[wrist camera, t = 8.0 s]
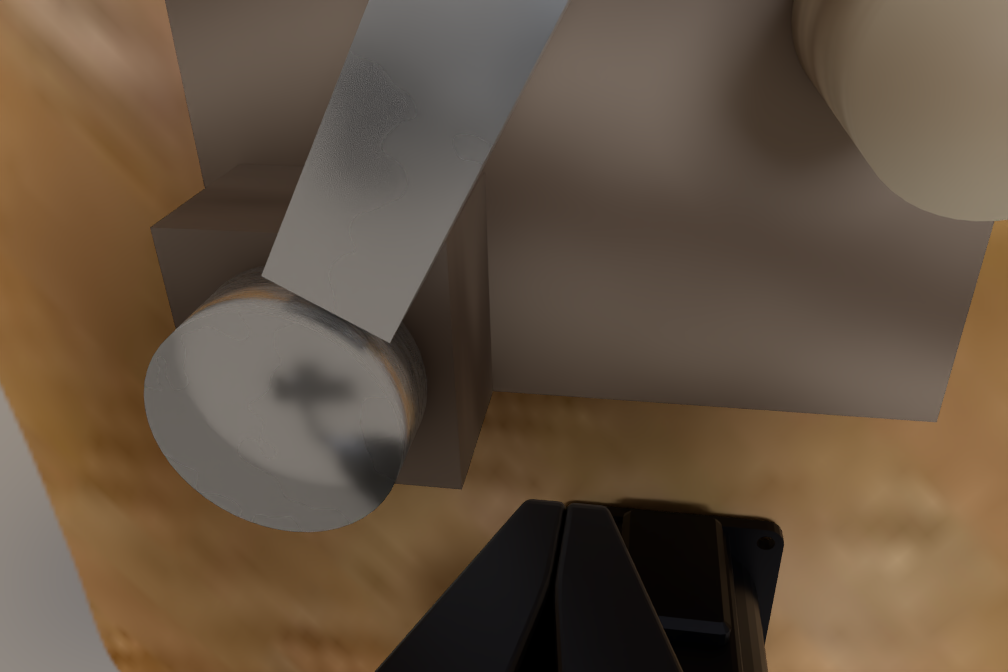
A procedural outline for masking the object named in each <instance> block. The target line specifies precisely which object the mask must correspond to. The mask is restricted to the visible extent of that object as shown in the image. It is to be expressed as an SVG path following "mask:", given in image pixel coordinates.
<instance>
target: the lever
mask: <svg viewBox="0 0 1008 672" xmlns="http://www.w3.org/2000/svg"><path fill="white" fill-rule="evenodd" d="M570 1H571V0H369V1H368V4H367V6H366V9H365V12H364V14H363V17H362V19H361V22H360V24H359V27H358V30H357V32H356V35H355V37H354V40H353V42H352V45H351V47H350V50H349V53H348V55H347V58H346V60H345V63H344V65H343V68H342V71H341V73H340V76H339V78H338V81H337V83H336V86H335V88H334V91H333V94H332V96H331V99H330V101H329V104H328V106H327V109H326V112H325V114H324V117H323V119H322V122H321V124H320V127H319V129H318V132H317V135H316V137H315V140H314V142H313V145H312V147H311V150H310V153H309V155H308V158H307V160H306V163H305V165H304V168H303V170H302V173H301V176H300V178H299V181H298V183H297V186H296V188H295V191H294V194H293V196H292V199H291V201H290V204H289V206H288V209H287V211H286V214H285V217H284V219H283V222H282V224H281V227H280V229H279V232H278V234H277V237H276V240H275V242H274V245H273V247H272V250H271V252H270V255H269V258H268V260H267V263H266V265H265V266H261V267H257V268H253V269H250V270H247V271H244V272H242V273H240V274H238V275H236V276H235V277H233V278H231V279H230V280H228V281H227V282H226V283H224V284H223V285H221V286H220V287H219V288H218V289H217V290H216V291H215V292H214V293H213V294H212V295H211V296H210V297H209V298H208V299H207V300H206V301H205V302H204V303H203V304H202V305H201V306H200V307H199V308H198V309H197V310H195V311H194V312H193V313H192V314H191V315H190V316H189V317H188V318H187V319H186V320H185V321H184V322H183V323H182V324H181V325H180V326H179V327H178V328H177V329H176V330H175V331H174V332H173V333H172V334H171V335H170V336H169V337H168V338H167V339H166V340H165V341H164V342H163V343H162V344H161V345H160V346H159V348H158V349H157V351H156V352H155V354H154V355H153V357H152V360H151V362H150V364H149V367H148V369H147V374H146V378H145V384H144V402H145V410H146V415H147V419H148V423H149V426H150V428H151V431H152V433H153V436H154V438H155V440H156V442H157V444H158V446H159V447H160V449H161V451H162V453H163V454H164V455H165V457H166V458H167V460H168V461H169V463H170V464H171V465H172V466H173V468H174V469H175V470H176V471H177V472H178V473H179V475H180V476H181V477H182V478H183V479H184V480H185V481H186V482H187V483H188V484H189V485H190V486H191V487H193V488H194V489H195V490H196V491H198V492H199V493H200V494H201V495H203V496H204V497H205V498H207V499H208V500H210V501H211V502H213V503H214V504H216V505H217V506H219V507H220V508H222V509H224V510H226V511H228V512H230V513H231V514H233V515H236V516H238V517H240V518H242V519H245V520H247V521H250V522H253V523H256V524H259V525H262V526H265V527H270V528H274V529H278V530H285V531H293V532H317V531H327V530H332V529H337V528H340V527H343V526H346V525H349V524H352V523H354V522H356V521H358V520H360V519H362V518H364V517H365V516H367V515H368V514H369V513H371V512H372V511H374V510H375V509H376V508H377V507H378V506H379V505H380V504H381V503H382V502H383V501H384V499H385V498H386V497H387V495H388V494H389V493H390V491H391V489H392V487H393V485H394V483H395V481H396V479H397V477H398V474H399V472H400V470H401V467H402V465H403V462H404V460H405V458H406V455H407V453H408V451H409V448H410V446H411V444H412V441H413V439H414V437H415V434H416V432H417V430H418V427H419V425H420V423H421V420H422V418H423V415H424V411H425V408H426V402H427V394H428V390H427V376H426V371H425V365H424V362H423V359H422V356H421V353H420V351H419V349H418V347H417V345H416V343H415V341H414V339H413V337H412V335H411V334H410V332H409V331H408V329H407V328H406V326H405V325H404V323H403V322H402V321H403V319H404V317H405V315H406V313H407V312H408V310H409V308H410V306H411V305H412V303H413V301H414V299H415V297H416V296H417V294H418V292H419V290H420V288H421V286H422V284H423V283H424V281H425V279H426V277H427V275H428V273H429V271H430V269H431V267H432V265H433V263H434V261H435V260H436V258H437V256H438V254H439V252H440V250H441V248H442V246H443V244H444V242H445V240H446V238H447V237H448V235H449V233H450V231H451V229H452V227H453V225H454V223H455V221H456V219H457V217H458V216H459V214H460V212H461V210H462V208H463V206H464V204H465V202H466V200H467V198H468V196H469V194H470V193H471V191H472V189H473V187H474V185H475V183H476V181H477V179H478V177H479V175H480V173H481V171H482V170H483V168H484V166H485V164H486V162H487V160H488V158H489V156H490V154H491V152H492V150H493V148H494V147H495V145H496V143H497V141H498V139H499V137H500V135H501V133H502V131H503V129H504V127H505V126H506V124H507V122H508V120H509V118H510V116H511V114H512V112H513V110H514V108H515V106H516V104H517V103H518V101H519V99H520V97H521V95H522V93H523V91H524V89H525V87H526V85H527V83H528V81H529V80H530V78H531V76H532V74H533V72H534V70H535V68H536V66H537V64H538V62H539V60H540V58H541V57H542V55H543V53H544V51H545V49H546V47H547V45H548V43H549V41H550V39H551V37H552V35H553V34H554V32H555V30H556V28H557V26H558V24H559V22H560V20H561V18H562V16H563V14H564V13H565V11H566V9H567V7H568V5H569V3H570Z"/></svg>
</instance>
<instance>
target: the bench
mask: <svg viewBox="0 0 1008 672" xmlns="http://www.w3.org/2000/svg"><path fill="white" fill-rule="evenodd" d="M368 1H369V0H165V3H166V7H167V12H168V17H169V21H170V26H171V31H172V35H173V40H174V45H175V50H176V54H177V59H178V64H179V68H180V73H181V78H182V83H183V87H184V92H185V97H186V101H187V106H188V111H189V115H190V120H191V125H192V130H193V134H194V139H195V144H196V148H197V153H198V158H199V163H200V167H201V172H202V177H203V181H204V186H205V189H203V190H202V191H201V192H199V193H198V194H196V195H195V196H194V197H192V198H191V199H189V200H188V201H187V202H185V203H184V204H182V205H181V206H180V207H178V208H177V209H175V210H174V211H173V212H171V213H170V214H168V215H167V216H166V217H164V218H163V219H162V220H160V221H159V222H157V223H156V224H155V225H153V226H152V227H150V229H151V232H152V236H153V240H154V244H155V248H156V252H157V256H158V260H159V264H160V268H161V272H162V276H163V280H164V284H165V288H166V292H167V296H168V300H169V304H170V308H171V312H172V316H173V319H174V323H175V327H176V329H177V328H178V327H179V326H180V325H181V324H182V323H183V322H184V321H185V320H186V319H187V318H188V317H189V316H190V315H191V314H192V313H193V312H194V311H195V310H197V309H198V308H199V307H200V306H201V305H202V304H203V303H204V302H205V301H206V300H207V299H208V298H209V297H210V296H211V295H212V294H213V293H214V292H215V291H216V290H217V289H218V288H219V287H220V286H221V285H223V284H224V283H226V282H227V281H228V280H230V279H231V278H233V277H235V276H236V275H238V274H240V273H242V272H244V271H247V270H250V269H253V268H257V267H261V266H265V265H266V263H267V260H268V258H269V255H270V252H271V250H272V247H273V245H274V242H275V240H276V237H277V234H278V232H279V229H280V227H281V224H282V222H283V219H284V217H285V214H286V211H287V209H288V206H289V204H290V201H291V199H292V196H293V194H294V191H295V188H296V186H297V183H298V181H299V178H300V176H301V173H302V170H303V168H304V165H305V163H306V160H307V158H308V155H309V153H310V150H311V147H312V145H313V142H314V140H315V137H316V135H317V132H318V129H319V127H320V124H321V122H322V119H323V117H324V114H325V112H326V109H327V106H328V104H329V101H330V99H331V96H332V94H333V91H334V88H335V86H336V83H337V81H338V78H339V76H340V73H341V71H342V68H343V65H344V63H345V60H346V58H347V55H348V53H349V50H350V47H351V45H352V42H353V40H354V37H355V35H356V32H357V30H358V27H359V24H360V22H361V19H362V17H363V14H364V12H365V9H366V6H367V4H368ZM793 2H794V0H571V1H570V3H569V5H568V7H567V9H566V11H565V13H564V14H563V16H562V18H561V20H560V22H559V24H558V26H557V28H556V30H555V32H554V34H553V35H552V37H551V39H550V41H549V43H548V45H547V47H546V49H545V51H544V53H543V55H542V57H541V58H540V60H539V62H538V64H537V66H536V68H535V70H534V72H533V74H532V76H531V78H530V80H529V81H528V83H527V85H526V87H525V89H524V91H523V93H522V95H521V97H520V99H519V101H518V103H517V104H516V106H515V108H514V110H513V112H512V114H511V116H510V118H509V120H508V122H507V124H506V126H505V127H504V129H503V131H502V133H501V135H500V137H499V139H498V141H497V143H496V145H495V147H494V148H493V150H492V152H491V154H490V156H489V158H488V160H487V162H486V164H485V166H484V168H483V170H482V171H481V173H480V175H479V177H478V179H477V181H476V183H475V185H474V187H473V189H472V191H471V193H470V194H469V196H468V198H467V200H466V202H465V204H464V206H463V208H462V210H461V212H460V214H459V216H458V217H457V219H456V221H455V223H454V225H453V227H452V229H451V231H450V233H449V235H448V237H447V238H446V240H445V242H444V244H443V246H442V248H441V250H440V252H439V254H438V256H437V258H436V260H435V261H434V263H433V265H432V267H431V269H430V271H429V273H428V275H427V277H426V279H425V281H424V283H423V284H422V286H421V288H420V290H419V292H418V294H417V296H416V297H415V299H414V301H413V303H412V305H411V306H410V308H409V310H408V312H407V313H406V315H405V317H404V319H403V321H402V322H403V323H404V325H405V326H406V328H407V329H408V331H409V332H410V334H411V335H412V337H413V339H414V341H415V343H416V345H417V347H418V349H419V351H420V353H421V356H422V359H423V362H424V365H425V371H426V376H427V390H428V394H427V402H426V408H425V411H424V415H423V418H422V420H421V423H420V425H419V427H418V430H417V432H416V434H415V437H414V439H413V441H412V444H411V446H410V448H409V451H408V453H407V455H406V458H405V460H404V462H403V465H402V467H401V470H400V472H399V474H398V477H397V479H396V481H395V484H406V485H418V486H429V487H440V488H451V489H462V487H463V484H464V481H465V478H466V475H467V472H468V468H469V465H470V462H471V459H472V456H473V453H474V449H475V446H476V443H477V440H478V437H479V433H480V430H481V427H482V424H483V421H484V418H485V414H486V411H487V408H488V405H489V402H490V399H491V395H492V392H493V391H499V392H514V393H528V394H542V395H556V396H571V397H585V398H599V399H614V400H628V401H642V402H656V403H671V404H685V405H699V406H713V407H728V408H742V409H756V410H770V411H785V412H799V413H813V414H827V415H842V416H856V417H870V418H885V419H899V420H913V421H927V422H937V418H938V415H939V412H940V408H941V405H942V401H943V398H944V394H945V391H946V387H947V384H948V380H949V377H950V373H951V370H952V366H953V363H954V359H955V356H956V352H957V349H958V345H959V342H960V338H961V335H962V332H963V328H964V325H965V321H966V318H967V314H968V311H969V307H970V304H971V300H972V297H973V293H974V290H975V286H976V283H977V279H978V276H979V272H980V269H981V265H982V262H983V258H984V255H985V251H986V248H987V245H988V241H989V238H990V234H991V231H992V227H993V224H994V221H968V220H957V219H952V218H948V217H943V216H939V215H936V214H933V213H930V212H927V211H925V210H922V209H920V208H918V207H916V206H914V205H912V204H910V203H908V202H907V201H905V200H904V199H902V198H901V197H899V196H898V195H897V194H895V193H894V192H893V191H891V190H890V189H889V188H888V187H887V186H886V185H885V184H884V183H883V182H882V181H881V180H880V179H879V177H878V176H877V175H876V173H875V172H874V171H873V169H872V168H871V167H870V165H869V164H868V162H867V161H866V159H865V158H864V157H863V155H862V154H861V152H860V151H859V149H858V148H857V146H856V145H855V144H854V142H853V141H852V139H851V138H850V136H849V135H848V134H847V132H846V131H845V129H844V128H843V126H842V125H841V123H840V122H839V121H838V119H837V118H836V116H835V115H834V113H833V112H832V110H831V109H830V108H829V106H828V105H827V103H826V102H825V100H824V99H823V97H822V96H821V95H820V93H819V92H818V90H817V89H816V87H815V86H814V85H813V83H812V82H811V80H810V79H809V77H808V76H807V74H806V73H805V71H804V70H803V68H802V66H801V64H800V62H799V60H798V57H797V54H796V51H795V48H794V43H793V38H792V25H791V20H792V7H793Z"/></svg>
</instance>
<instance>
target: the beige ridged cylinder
mask: <svg viewBox="0 0 1008 672" xmlns="http://www.w3.org/2000/svg"><path fill="white" fill-rule="evenodd" d="M791 25H792V38H793V43H794V48H795V51H796V54H797V57H798V60H799V62H800V64H801V66H802V68H803V70H804V71H805V73H806V74H807V76H808V77H809V79H810V80H811V82H812V83H813V85H814V86H815V87H816V89H817V90H818V92H819V93H820V95H821V96H822V97H823V99H824V100H825V102H826V103H827V105H828V106H829V108H830V109H831V110H832V112H833V113H834V115H835V116H836V118H837V119H838V121H839V122H840V123H841V125H842V126H843V128H844V129H845V131H846V132H847V134H848V135H849V136H850V138H851V139H852V141H853V142H854V144H855V145H856V146H857V148H858V149H859V151H860V152H861V154H862V155H863V157H864V158H865V159H866V161H867V162H868V164H869V165H870V167H871V168H872V169H873V171H874V172H875V173H876V175H877V176H878V177H879V179H880V180H881V181H882V182H883V183H884V184H885V185H886V186H887V187H888V188H889V189H890V190H891V191H893V192H894V193H895V194H897V195H898V196H899V197H901V198H902V199H904V200H905V201H907V202H908V203H910V204H912V205H914V206H916V207H918V208H920V209H922V210H925V211H927V212H930V213H933V214H936V215H939V216H943V217H948V218H952V219H957V220H968V221H999V220H1007V219H1008V0H794V2H793V7H792V20H791Z"/></svg>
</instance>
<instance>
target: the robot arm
mask: <svg viewBox="0 0 1008 672" xmlns="http://www.w3.org/2000/svg"><path fill="white" fill-rule="evenodd" d="M762 537H770V538H771V539H769V540H761V539H760V538H762ZM783 547H784V540H783V535H782V530H781V529H780V527H779V526H778V525H777V524H775V523H773V522H769V521H762V520H751V519H740V518H729V517H718V516H707V515H696V514H684V513H673V512H662V511H651V510H640V509H629V508H618V507H606V506H602V505H591V504H580V503H571V504H570V505H569V506H567V507H565V505H564V504H563V503H562V502H558V501H547V500H536V499H529V500H527V501H525V502H524V503H523V504H522V505H521V506H520V507H519V508H518V509H517V510H516V512H515V513H514V514H513V515H512V516H511V517H510V518H509V520H508V521H507V522H506V523H505V524H504V525H503V526H502V528H501V529H500V530H499V531H498V532H497V533H496V534H495V535H494V537H493V538H492V539H491V540H490V541H489V542H488V543H487V545H486V546H485V547H484V548H483V549H482V550H481V551H480V553H479V554H478V555H477V556H476V557H475V558H474V559H473V560H472V562H471V563H470V564H469V565H468V566H467V567H466V568H465V570H464V571H463V572H462V573H461V574H460V575H459V576H458V578H457V579H456V580H455V581H454V582H453V583H452V584H451V585H450V587H449V588H448V589H447V590H446V591H445V592H444V593H443V595H442V596H441V597H440V598H439V599H438V600H437V601H436V603H435V604H434V605H433V606H432V607H431V608H430V609H429V610H428V612H427V613H426V614H425V615H424V616H423V617H422V618H421V620H420V621H419V622H418V623H417V624H416V625H415V626H414V628H413V629H412V630H411V631H410V632H409V633H408V634H407V635H406V637H405V638H404V639H403V640H402V641H401V642H400V643H399V645H398V646H397V647H396V648H395V649H394V650H393V651H392V653H391V654H390V655H389V656H388V657H387V658H386V659H385V660H384V662H383V663H382V664H381V665H380V666H379V667H378V668H377V670H376V671H375V672H768V668H767V661H766V653H765V640H766V635H767V630H768V625H769V620H770V614H771V609H772V604H773V599H774V594H775V588H776V583H777V578H778V573H779V568H780V563H781V557H782V552H783Z"/></svg>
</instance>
